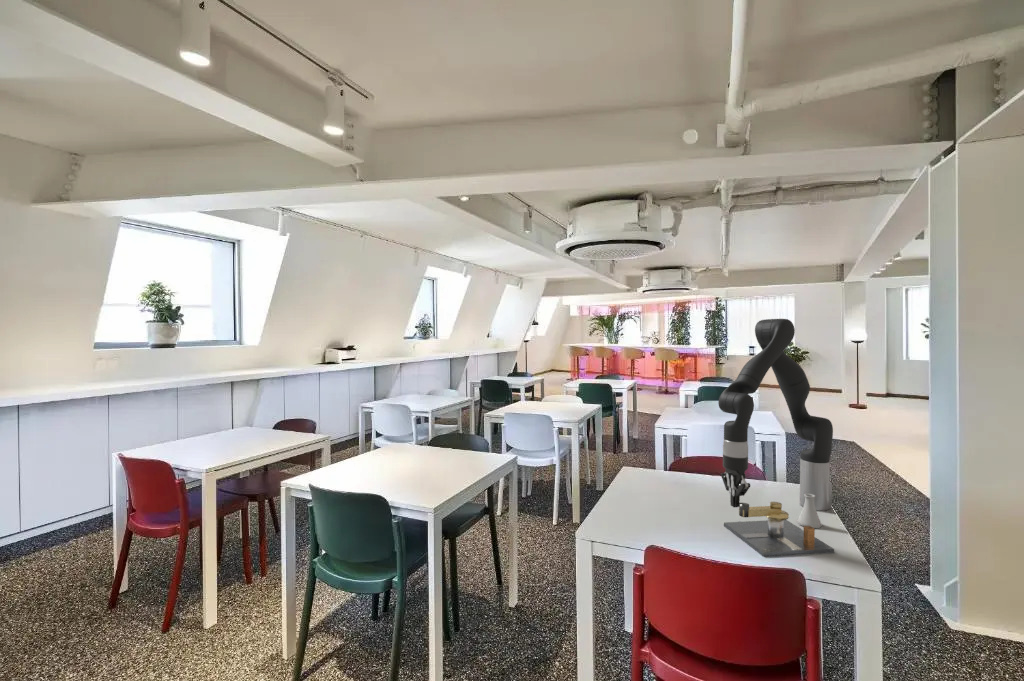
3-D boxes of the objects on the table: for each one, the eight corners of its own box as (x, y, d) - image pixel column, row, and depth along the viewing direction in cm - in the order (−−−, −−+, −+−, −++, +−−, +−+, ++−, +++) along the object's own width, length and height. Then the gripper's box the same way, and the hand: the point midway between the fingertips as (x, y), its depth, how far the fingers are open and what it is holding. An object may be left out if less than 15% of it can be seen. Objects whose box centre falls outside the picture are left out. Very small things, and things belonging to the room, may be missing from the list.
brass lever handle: (779, 511, 160) (779, 498, 160) (793, 519, 153) (793, 506, 153) (733, 513, 159) (733, 500, 158) (746, 521, 152) (746, 508, 151)
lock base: (785, 523, 169) (786, 502, 168) (834, 552, 147) (834, 529, 146) (723, 526, 166) (724, 505, 166) (763, 556, 144) (763, 533, 144)
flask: (821, 530, 162) (822, 500, 162) (796, 526, 166) (796, 496, 166) (822, 523, 168) (822, 494, 168) (797, 518, 172) (797, 490, 172)
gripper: (759, 458, 156) (758, 513, 156) (733, 448, 169) (733, 498, 169) (737, 459, 155) (736, 514, 155) (713, 449, 168) (712, 500, 168)
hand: (734, 506), depth 162 cm, fingers closed
